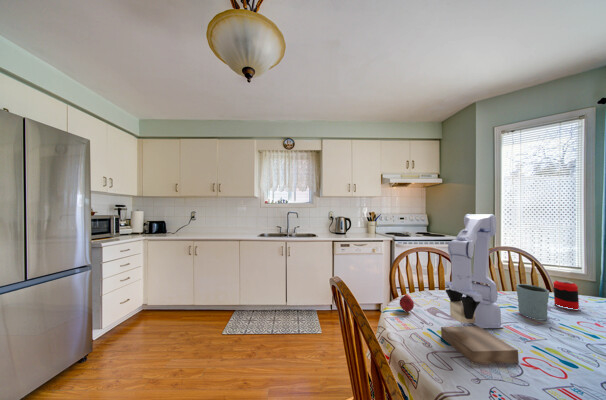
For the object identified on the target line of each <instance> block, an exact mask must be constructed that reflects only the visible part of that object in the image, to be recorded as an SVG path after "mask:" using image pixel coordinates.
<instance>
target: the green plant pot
mask: <svg viewBox="0 0 606 400" xmlns="http://www.w3.org/2000/svg"><path fill="white" fill-rule="evenodd" d="M515 286H516V287H515V288H516V295H517V302H518V313H519V314H520V313H521V314H523V315H525V316H524V317H526V316H528V317H527V318H529V317H531V318H530V319H532V318H535V319H534V320H537V319H546V320H547V319H548V313H549V312H548V307H549V305H548V303H549V296H550V290H548V289H546V288H544V287H541V286H537V285H532V284H525V283H517V284H515ZM521 314H520V315H521ZM523 315H522V316H523Z"/></svg>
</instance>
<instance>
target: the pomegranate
mask: <svg viewBox="0 0 606 400" xmlns="http://www.w3.org/2000/svg"><path fill="white" fill-rule="evenodd" d="M399 306H400V308H401V309H402V310H403V311H404V312H405V313H409V312H411V311H412V310H413V309H414V307H415V303H414V300H413V299H412V297H410V296H409V294H408V293H405V294H404V295H403V296H402V297H400V299H399Z"/></svg>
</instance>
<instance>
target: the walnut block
mask: <svg viewBox="0 0 606 400" xmlns="http://www.w3.org/2000/svg"><path fill="white" fill-rule="evenodd" d="M440 335H441V339H443V340H444V341H445V342H446V343H448V344H449V345H450V346H452V347H453V348H454V349H455V350H456V351H457V352H458V353H460V354H461V355H463V357H465V358H466V359H467V360H468V359H469V360H470V361H469V360H468V361H469V362H471V363H472V362H473V363H480V364H481V363H482V364H481V365H484V364H517V363H520V361H519V350H518V348H515V347H514V346H512V345H510V344H509V343H507V342H505V341H504V340H502V339H501V338H499V337H497V336H496V335H494V334H492V333H491V332H488V331H487V330H485V328H480V327H479V326H476V325H471V326H469V325H468V326H441V328H440ZM473 363H472V364H473Z"/></svg>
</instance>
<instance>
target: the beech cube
mask: <svg viewBox="0 0 606 400" xmlns="http://www.w3.org/2000/svg"><path fill="white" fill-rule="evenodd" d="M449 314H450V317H452V318H453V319H454V320H456V321H457V322H459V323H461V324H463V323H464V324H469V323H471V324H473V323H475V312H474V316H473V319H466V318H465V315H464V307H463V304H462V301H461V302H451V301H449Z"/></svg>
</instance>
